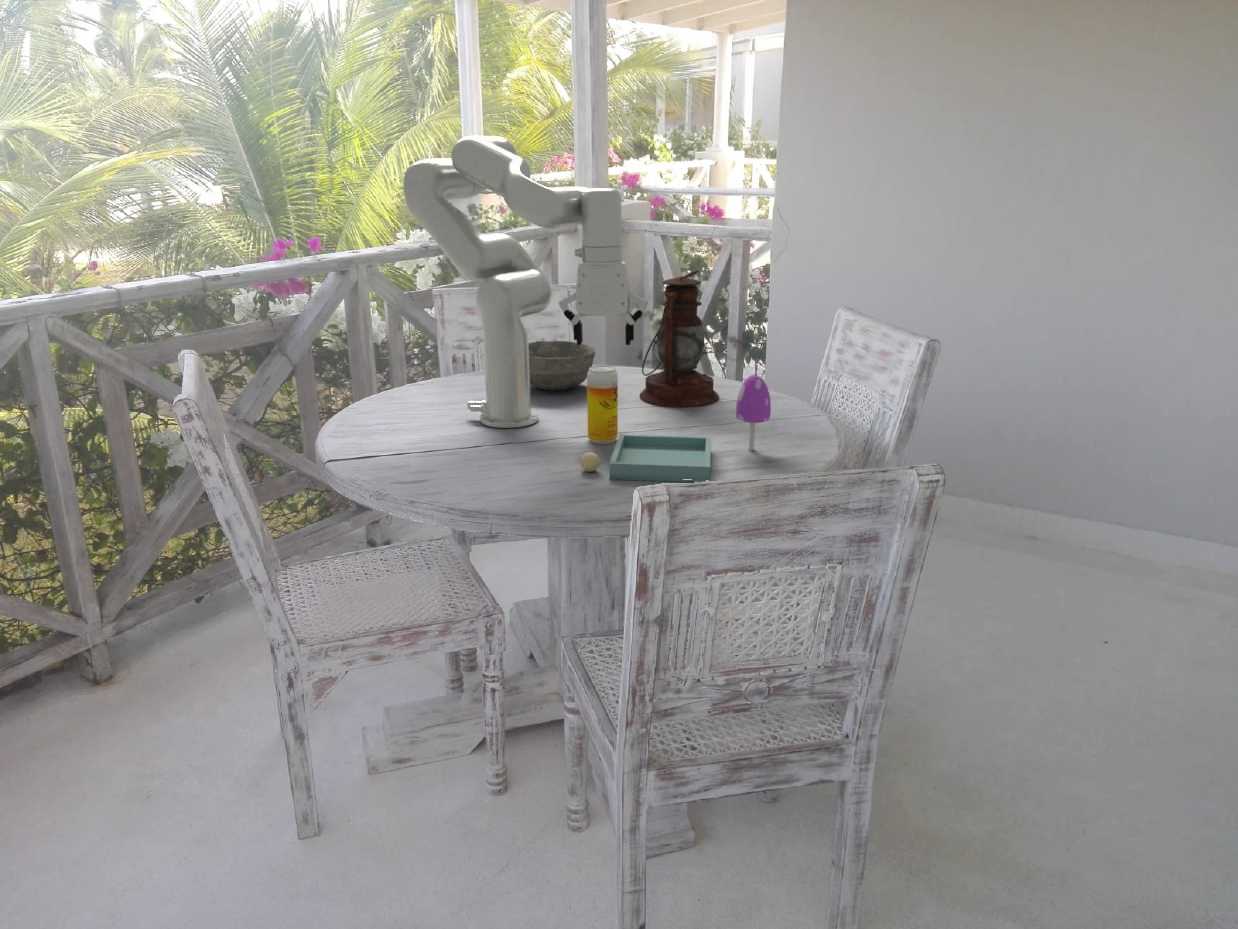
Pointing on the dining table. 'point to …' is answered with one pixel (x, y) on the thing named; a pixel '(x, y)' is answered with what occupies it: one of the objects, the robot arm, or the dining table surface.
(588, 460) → the cork ball
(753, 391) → the toy
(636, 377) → the dining table surface
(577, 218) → the robot arm
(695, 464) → the tray
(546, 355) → the bowl
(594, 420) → the beer can
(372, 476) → the dining table surface
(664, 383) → the lantern
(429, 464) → the dining table surface
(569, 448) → the dining table surface
